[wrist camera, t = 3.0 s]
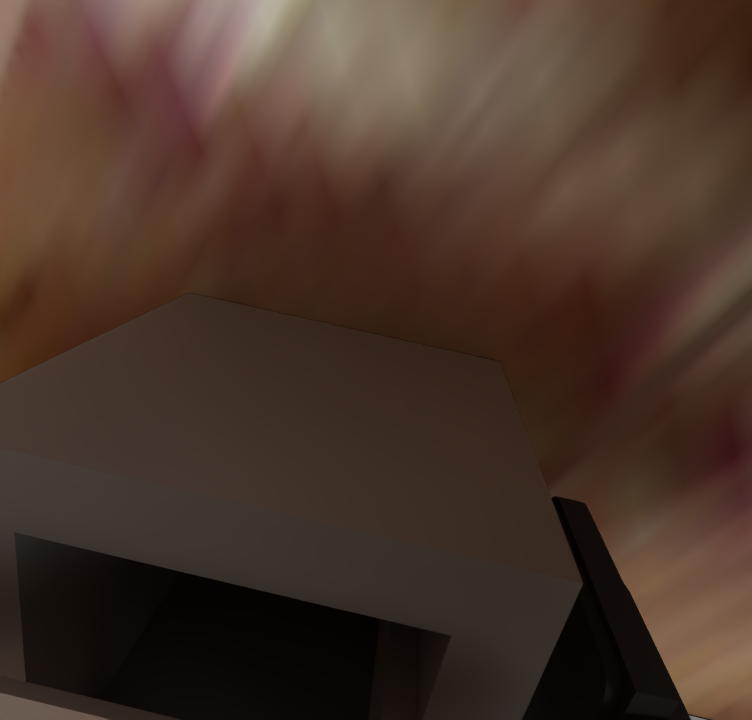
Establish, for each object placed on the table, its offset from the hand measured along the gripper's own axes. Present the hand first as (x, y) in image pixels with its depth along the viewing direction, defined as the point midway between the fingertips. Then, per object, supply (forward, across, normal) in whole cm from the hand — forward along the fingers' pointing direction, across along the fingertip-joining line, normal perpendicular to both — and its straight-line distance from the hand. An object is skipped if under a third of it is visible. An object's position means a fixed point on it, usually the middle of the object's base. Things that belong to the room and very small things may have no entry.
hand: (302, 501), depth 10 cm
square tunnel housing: (+2, 0, 0) cm, 2 cm away
